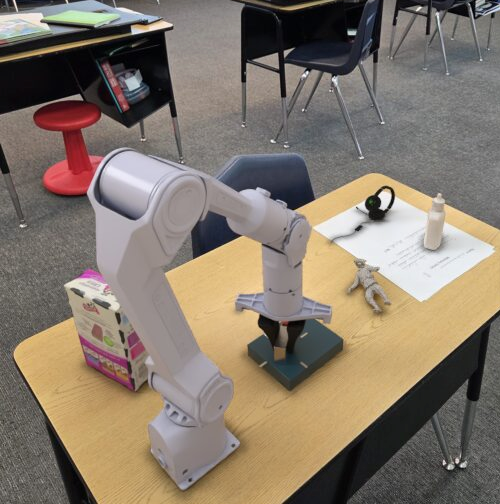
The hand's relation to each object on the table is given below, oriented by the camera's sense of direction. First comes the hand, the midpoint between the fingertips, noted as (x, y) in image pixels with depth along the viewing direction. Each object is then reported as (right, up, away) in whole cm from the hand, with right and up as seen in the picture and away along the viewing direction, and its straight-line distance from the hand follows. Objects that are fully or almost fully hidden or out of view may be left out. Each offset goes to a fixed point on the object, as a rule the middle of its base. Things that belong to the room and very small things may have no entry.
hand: (284, 347), depth 86 cm
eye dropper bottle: (+30, +14, +29) cm, 45 cm away
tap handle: (0, 0, 0) cm, 0 cm away
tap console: (+2, -2, +3) cm, 4 cm away
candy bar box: (-26, -3, 0) cm, 26 cm away
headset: (+15, +19, +36) cm, 44 cm away
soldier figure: (+15, +6, +16) cm, 23 cm away
